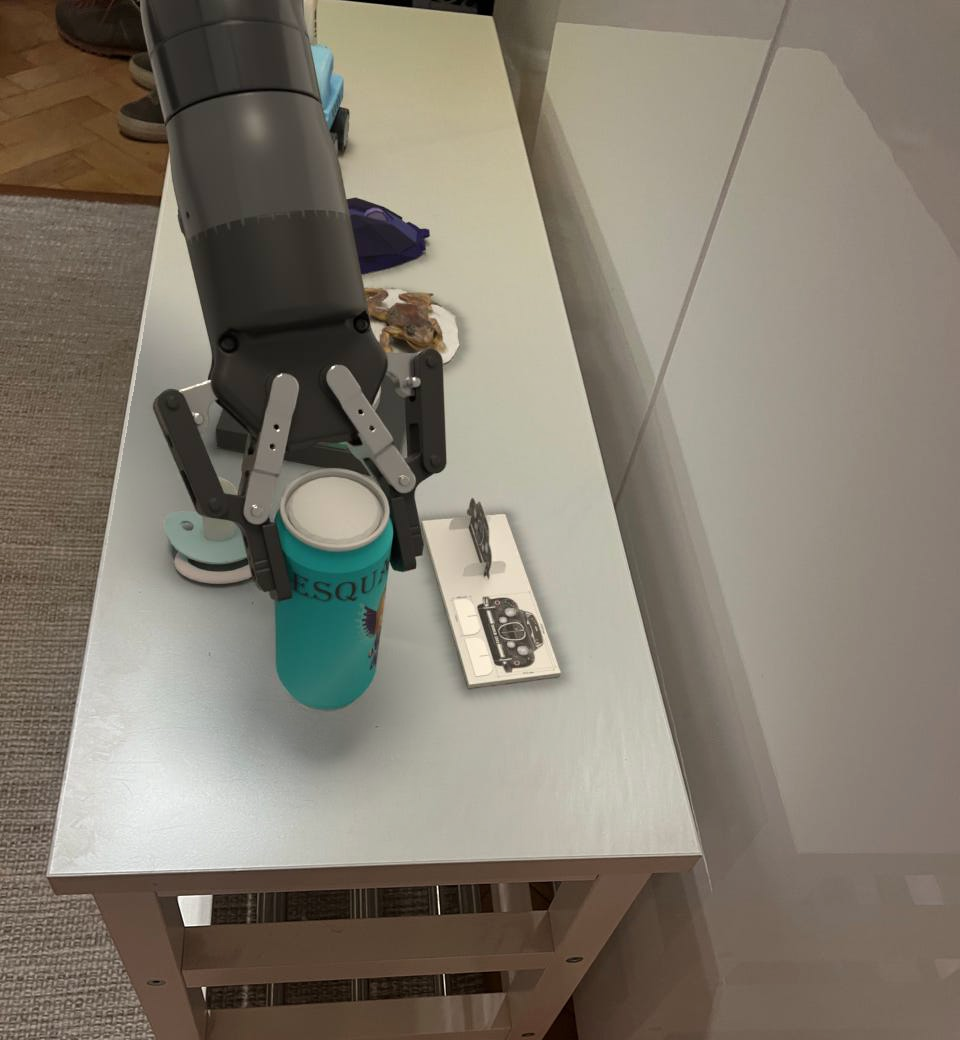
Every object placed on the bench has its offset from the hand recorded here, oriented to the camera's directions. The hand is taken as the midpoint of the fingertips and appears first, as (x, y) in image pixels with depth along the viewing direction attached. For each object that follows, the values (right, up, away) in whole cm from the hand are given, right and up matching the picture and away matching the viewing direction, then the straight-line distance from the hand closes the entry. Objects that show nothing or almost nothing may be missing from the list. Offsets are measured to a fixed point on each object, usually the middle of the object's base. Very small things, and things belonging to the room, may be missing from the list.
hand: (344, 582), depth 49 cm
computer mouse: (-6, +35, +46) cm, 58 cm away
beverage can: (-3, -5, +10) cm, 12 cm away
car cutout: (+7, 0, +23) cm, 24 cm away
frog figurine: (-1, +24, +40) cm, 47 cm away
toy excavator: (-12, +50, +56) cm, 76 cm away
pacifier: (-12, +3, +22) cm, 25 cm away
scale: (-6, +15, +32) cm, 36 cm away
